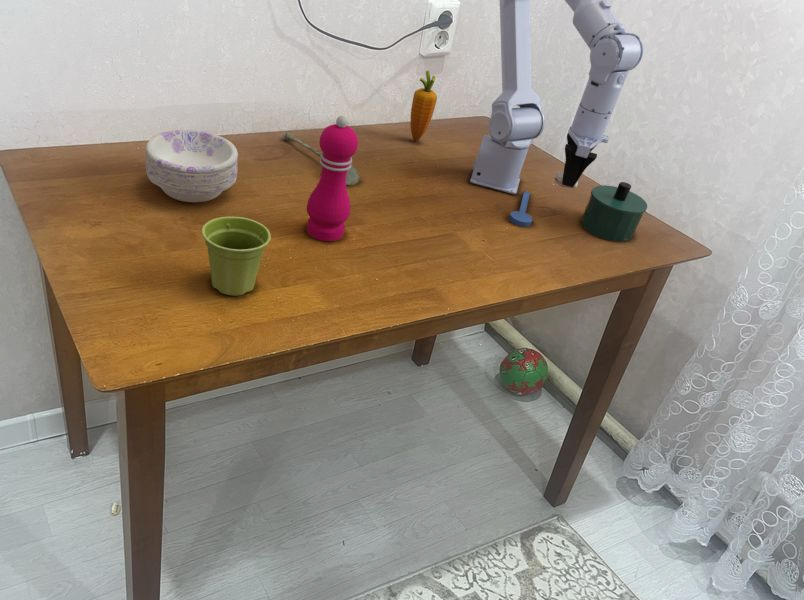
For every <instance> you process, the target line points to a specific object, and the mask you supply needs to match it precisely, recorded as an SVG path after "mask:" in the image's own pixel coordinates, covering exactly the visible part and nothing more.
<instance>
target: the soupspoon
mask: <svg viewBox="0 0 804 600" xmlns="http://www.w3.org/2000/svg"><path fill="white" fill-rule="evenodd" d="M282 137H283V140H284V141H289V140H290V141H292V142H295V143H297V144H299V145H301V146H302V147H304V148H305V149H306V150H309V151H310V152H312V153H313V154H315V155H317V156H318V157H320V158H321V154H322V153H323V152H320V151H318V150H317V149H316V148H314V147H312V146H311V145H308V144H306V143H305V142H304V141H301V140H300V139H298V138H297V137H296V136H293V135H292V134H291V132H290V131H285V132H284V133H283V135H282ZM360 177H361V176H360V173H359V172H358V170H357V168H356V167H355V166H354V165H353V164H351V168H350V169H349V170H348V171H347V175H346V186H355V185H357V184H358V183H359V182H360Z"/></svg>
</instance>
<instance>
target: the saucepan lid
mask: <svg viewBox="0 0 804 600" xmlns="http://www.w3.org/2000/svg"><path fill="white" fill-rule="evenodd" d="M617 185H618V186H614V185H606V184H605V185H596V186H594V187H593V188H592V189H591V192H590V196H591V195H592V197H593V199H594V200H595V201H597V202H598V203H599V204H601V205H603V206H604V207H607V208H609V209H611V210H614V211H617V212H621V213H626V214H641V213H643V214H644V213H645V212H646V211H647V210H648V203H647V202H646V200H645V199H644V198H643V197H641V196H640V195H639V194H637V193H635V192H632V191H631V189H632V184H630V183H628V182H625V181H620V182H619V183H618V184H617Z"/></svg>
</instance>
